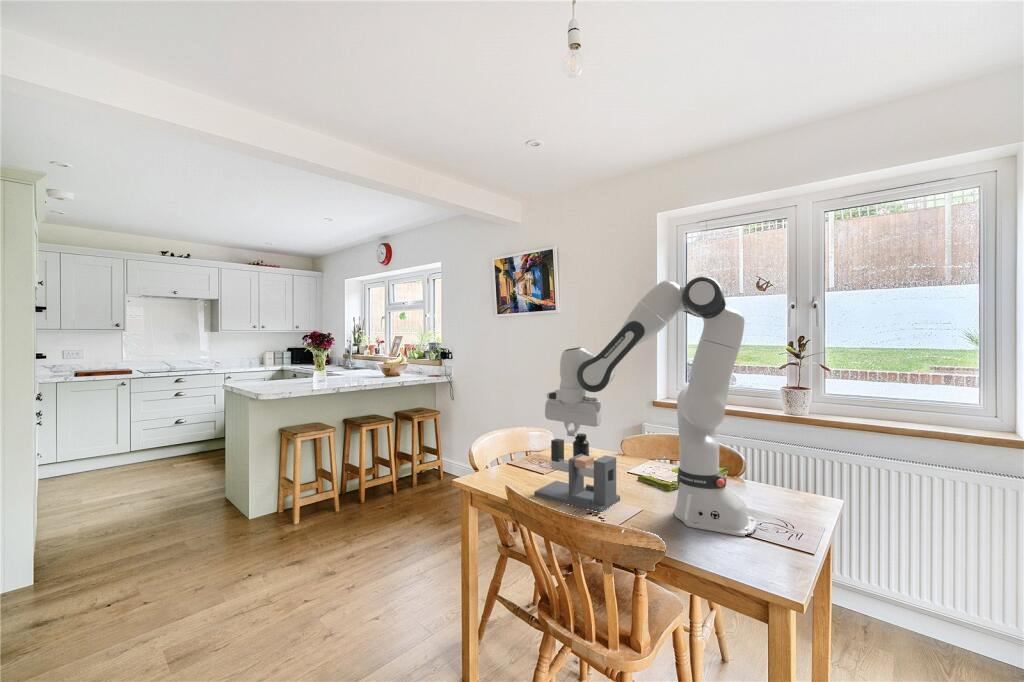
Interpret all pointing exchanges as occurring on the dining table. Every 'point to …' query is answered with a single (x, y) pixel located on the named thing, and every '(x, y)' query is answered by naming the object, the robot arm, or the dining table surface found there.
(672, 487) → the dish towel
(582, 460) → the block
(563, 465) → the shaft
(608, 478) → the bracket
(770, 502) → the dining table surface
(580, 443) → the supplement bottle
